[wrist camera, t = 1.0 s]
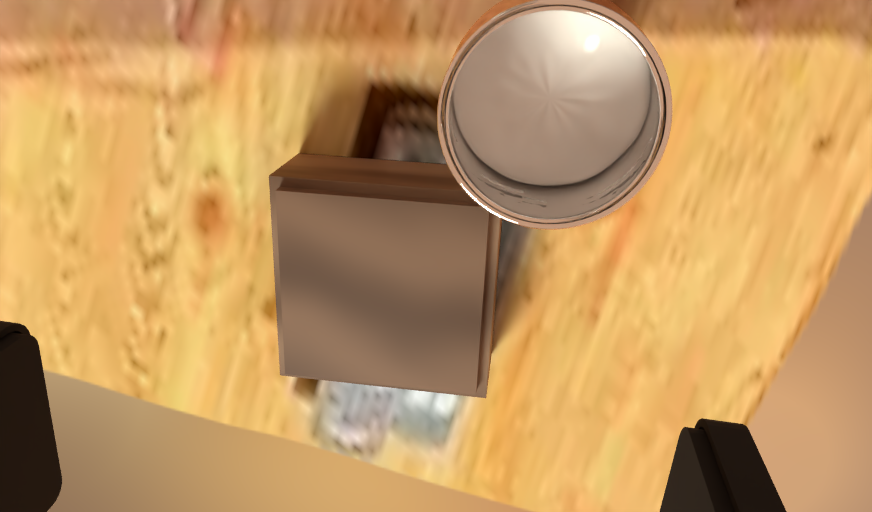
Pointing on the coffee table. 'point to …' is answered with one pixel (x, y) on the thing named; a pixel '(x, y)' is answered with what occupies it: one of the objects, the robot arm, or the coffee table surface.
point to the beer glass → (554, 111)
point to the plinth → (383, 274)
